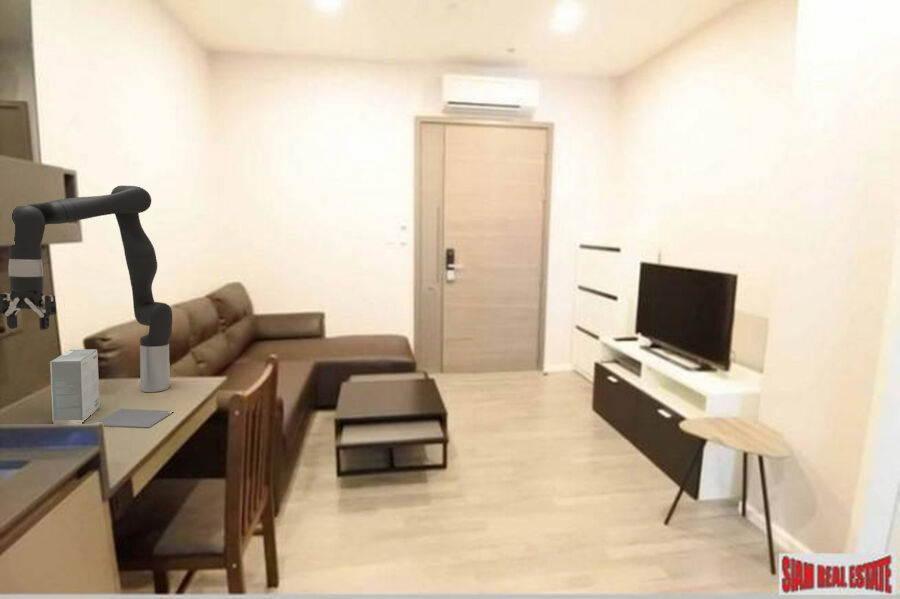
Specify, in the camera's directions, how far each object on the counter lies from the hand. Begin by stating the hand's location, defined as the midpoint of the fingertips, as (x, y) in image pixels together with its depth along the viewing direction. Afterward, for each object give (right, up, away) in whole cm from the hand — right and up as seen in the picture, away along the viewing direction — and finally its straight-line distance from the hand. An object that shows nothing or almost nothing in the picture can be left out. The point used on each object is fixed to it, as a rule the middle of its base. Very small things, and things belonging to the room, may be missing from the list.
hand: (28, 328), depth 139 cm
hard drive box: (+8, -28, +8) cm, 31 cm away
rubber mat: (+25, -29, +9) cm, 40 cm away
